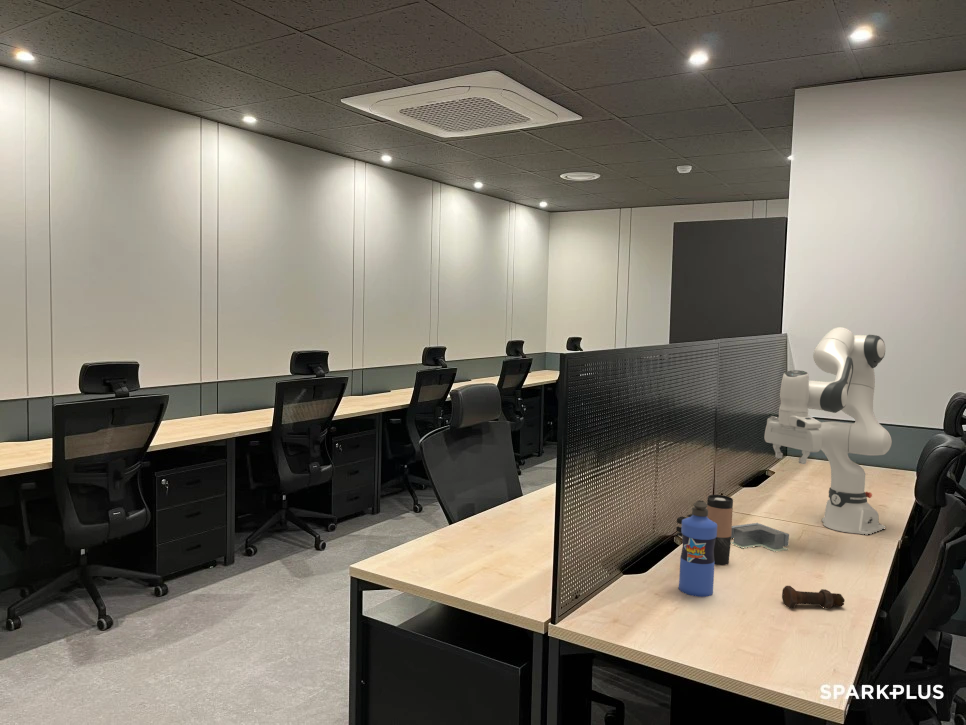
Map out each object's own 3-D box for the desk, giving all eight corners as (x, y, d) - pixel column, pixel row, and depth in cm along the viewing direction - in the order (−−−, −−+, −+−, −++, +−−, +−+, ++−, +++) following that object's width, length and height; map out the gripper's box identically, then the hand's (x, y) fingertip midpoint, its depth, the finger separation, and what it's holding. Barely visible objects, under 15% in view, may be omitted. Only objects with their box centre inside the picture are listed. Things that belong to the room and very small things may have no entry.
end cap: (692, 540, 234) (693, 521, 233) (675, 535, 239) (676, 516, 239) (709, 535, 240) (710, 516, 240) (692, 530, 246) (693, 511, 245)
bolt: (842, 615, 182) (786, 612, 181) (834, 599, 186) (779, 596, 185) (850, 601, 178) (793, 597, 178) (841, 585, 183) (786, 581, 182)
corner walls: (756, 533, 244) (757, 522, 244) (788, 545, 232) (789, 534, 231) (719, 539, 237) (719, 527, 236) (749, 551, 224) (750, 539, 224)
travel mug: (729, 558, 217) (733, 496, 215) (729, 566, 209) (733, 502, 208) (704, 555, 219) (707, 493, 218) (703, 563, 212) (707, 499, 211)
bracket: (733, 542, 232) (734, 528, 232) (759, 539, 237) (760, 524, 237) (756, 552, 223) (757, 537, 223) (783, 548, 228) (784, 533, 228)
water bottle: (683, 581, 196) (687, 495, 195) (716, 588, 192) (721, 500, 190) (674, 591, 188) (679, 501, 187) (709, 599, 184) (714, 507, 182)
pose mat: (759, 538, 238) (759, 537, 238) (788, 549, 227) (788, 548, 227) (729, 543, 232) (729, 542, 232) (756, 554, 222) (756, 553, 221)
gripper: (761, 415, 236) (758, 455, 237) (812, 424, 218) (809, 467, 219) (774, 414, 239) (772, 454, 240) (826, 423, 221) (823, 466, 221)
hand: (790, 460), depth 229 cm, fingers open, 8 cm apart
